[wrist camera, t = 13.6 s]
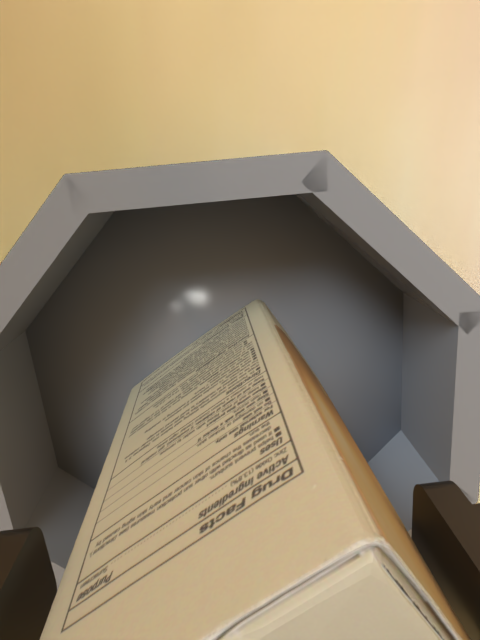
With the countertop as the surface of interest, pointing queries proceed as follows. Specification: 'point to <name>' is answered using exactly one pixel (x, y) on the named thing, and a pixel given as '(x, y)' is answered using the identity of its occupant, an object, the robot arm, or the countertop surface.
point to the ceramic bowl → (217, 305)
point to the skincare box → (242, 512)
